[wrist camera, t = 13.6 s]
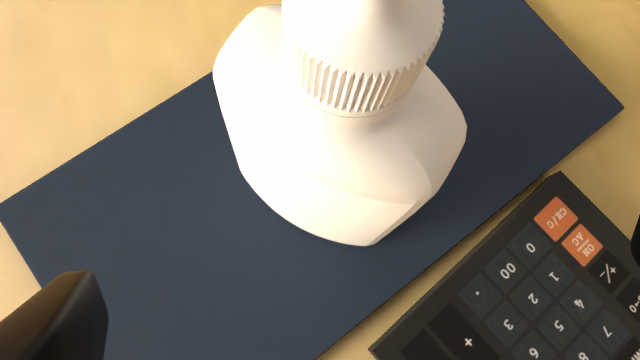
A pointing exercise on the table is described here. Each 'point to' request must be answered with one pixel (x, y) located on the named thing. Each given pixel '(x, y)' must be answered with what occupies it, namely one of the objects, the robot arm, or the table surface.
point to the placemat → (275, 231)
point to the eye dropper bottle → (340, 112)
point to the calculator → (531, 290)
